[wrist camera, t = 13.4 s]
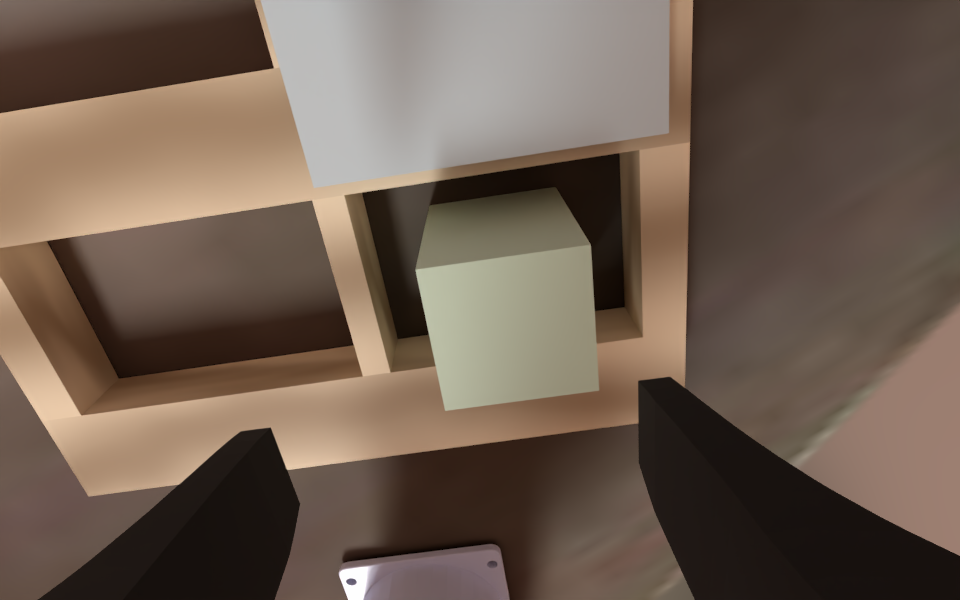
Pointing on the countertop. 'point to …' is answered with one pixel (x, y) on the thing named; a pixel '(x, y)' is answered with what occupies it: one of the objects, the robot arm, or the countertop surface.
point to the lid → (466, 79)
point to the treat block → (508, 299)
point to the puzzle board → (351, 250)
